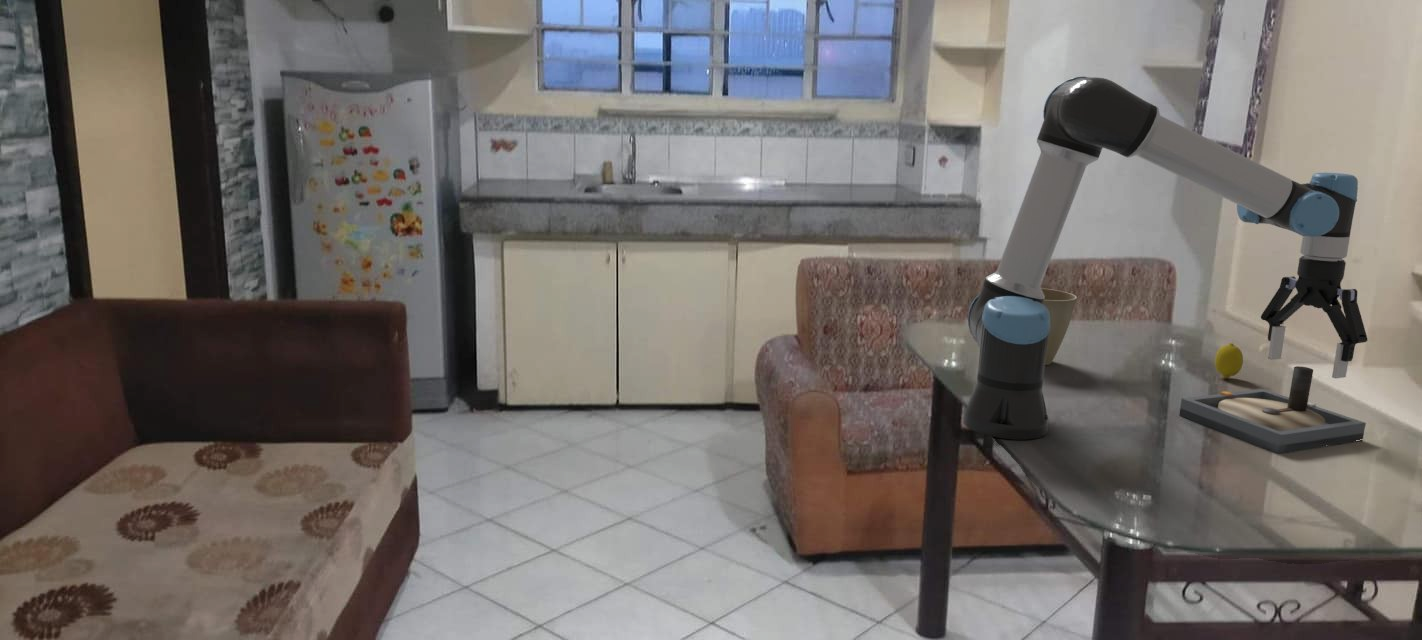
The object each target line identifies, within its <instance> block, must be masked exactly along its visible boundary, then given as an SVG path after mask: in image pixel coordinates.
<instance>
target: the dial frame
mask: <svg viewBox="0 0 1422 640" xmlns="http://www.w3.org/2000/svg"><path fill="white" fill-rule="evenodd" d="M1230 398H1257V399H1266V400H1273V401H1279V402H1284V403H1288V401H1289V397H1288V396H1285V395H1283V394H1279V393H1277V392H1273V391H1270V390H1268V389H1264V388H1258V389H1257V388H1256V389H1250V390H1241V391H1232V392H1229V391H1227V390H1226V391H1220V393H1217V394H1216V393H1215V394H1207V395H1200V396H1191V397H1183V398H1181V402H1180V408H1179V414H1178V415H1179V417H1181V418H1184V419H1187V420H1190V421H1193V422H1195V423H1197V424H1199V425H1200V424H1201V425H1203V426H1205V427H1208V428H1210V429H1213V430H1215V431H1218V432H1221V433H1223V434H1226V435H1229V436H1231V437H1234V438H1237V439H1239V440H1241V441H1244V442H1246V443H1249V444H1252V445H1255V446H1257V447H1259V448H1262V449H1265V450H1267V451H1270V452H1273V453H1275V454H1277V455H1279V454H1286V453H1290V452H1291V453H1292V452H1293V453H1294V452H1298V451H1304V449H1306V450H1312V449H1318V448H1324V447H1323V446H1325V447H1327V446H1326V445H1332V446H1337V445H1344V444H1345V445H1346V444H1350V443H1351V444H1352V443H1355V442H1354V441H1356V440H1360V439H1363V440H1364V436H1365V435H1364V434H1365V429H1366V424H1367V423H1366V422H1365V421H1362V420H1358V419H1355V418H1352V417H1349V416H1346V415H1343V414H1340V413H1337V412H1334V411H1332V410H1328V409H1325V408H1323V407H1319V406H1316V405H1317V404H1316V403H1313V402H1310V401H1308V404H1307V409H1309V410H1311V411H1313V412H1316V413H1318V414H1319V415H1321V416H1322V417H1323V418H1324V419H1325V425H1321V426H1314V427H1307V428H1300V429H1293V430H1286V431H1277V430H1274V429H1272V428H1269V427H1266V426H1264V425H1261V424H1258V423H1255V422H1253V421H1250V420H1247V419H1244V418H1242V417H1239V416H1236V415H1233V414H1231V413H1228V412H1225V411H1222V410H1220V409H1218V404H1219V402H1220V401H1222V400H1225V399H1230Z"/></svg>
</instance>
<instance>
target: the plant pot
mask: <svg viewBox="0 0 1422 640" xmlns="http://www.w3.org/2000/svg"><path fill="white" fill-rule="evenodd" d="M1041 289H1042V291H1043V294H1044V296H1045V298H1044V301H1043V303H1042V304H1043V305H1044V306H1045V307H1046V308H1047V309H1048V311H1049V314H1050V331H1049V334H1048V343H1047V352H1046V360H1045V366H1049V365H1051V364H1052V362H1053V361H1054V359H1055V357H1056V355H1057V353H1058V351H1059V349H1060V348H1061V345H1062V343H1063V341H1064V339H1065V335H1066V333H1067V331H1068V328H1069V325H1070V322H1071V319H1072V317H1073V313H1074V310H1075V306H1076V303H1077V299H1078V297H1077V295H1075V294H1073V293H1071V292H1066V291H1062V290H1058V289H1053V288H1052V289H1050V288H1044V287H1041Z"/></svg>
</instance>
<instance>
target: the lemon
mask: <svg viewBox="0 0 1422 640" xmlns="http://www.w3.org/2000/svg"><path fill="white" fill-rule="evenodd" d="M1243 364H1244V355H1243V352H1242V350H1241V349H1240V348H1239V347H1237V346H1236V345H1234V343H1229V344H1226V345H1223V346H1221V347H1220V348H1218V351H1217V353H1216V354H1215V357H1214V367H1215V369H1216V371H1217V372H1218V373H1219V374H1220V375H1221V376H1223V377H1224V379H1229V378H1230V377H1233V376H1236V375H1238V373H1239V372H1240V371H1241V369H1242V367H1243Z"/></svg>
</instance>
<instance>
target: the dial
mask: <svg viewBox="0 0 1422 640" xmlns="http://www.w3.org/2000/svg"><path fill="white" fill-rule="evenodd" d="M1313 374H1314V369H1312V368H1310V367H1307V366H1299V365H1297V366H1294V367H1293V372H1292V378H1291V385H1290V389H1289V395H1288V396H1289V401H1288V403H1284V402H1279V401H1273V400H1266V399H1257V398H1230V399H1225V400H1222V401H1220V402H1219V404H1218V409H1220V410H1222V411H1225V412H1228V413H1231V414H1233V415H1236V416H1239V417H1242V418H1244V419H1247V420H1250V421H1253V422H1255V423H1258V424H1261V425H1264V426H1266V427H1269V428H1272V429H1274V430H1277V431H1286V430H1293V429H1300V428H1307V427H1314V426H1321V425H1325V419H1324V418H1323V417H1322V416H1321V415H1319V414H1318V413H1316V412H1313V411H1311V410H1309V409H1307V404H1308V402H1309V397H1310V390H1311V387H1312V386H1311V385H1312V381H1313Z"/></svg>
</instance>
